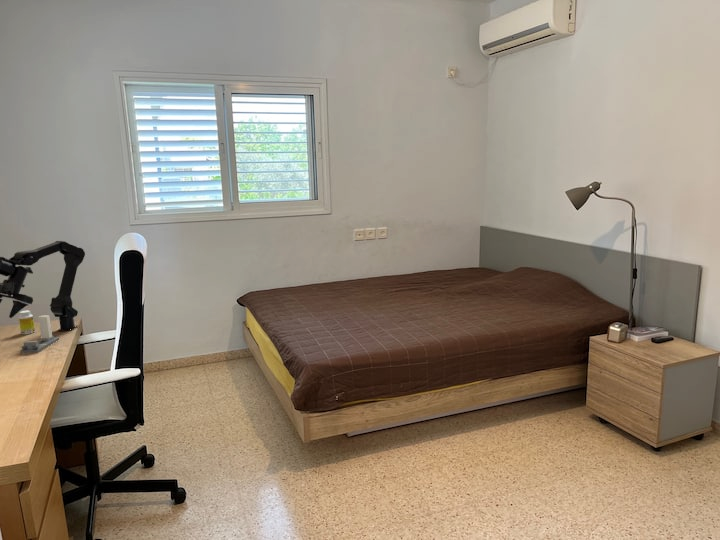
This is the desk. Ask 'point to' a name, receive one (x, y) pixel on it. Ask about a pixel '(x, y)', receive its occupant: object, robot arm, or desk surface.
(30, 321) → the supplement bottle
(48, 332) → the fader tab
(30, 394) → the desk surface
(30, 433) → the desk surface
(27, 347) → the console
